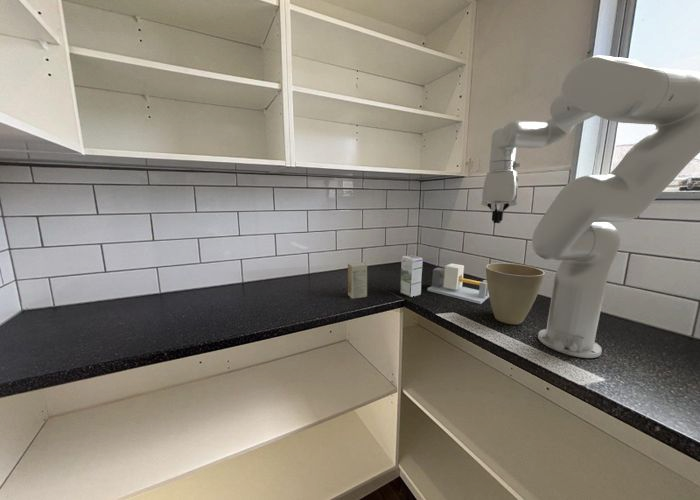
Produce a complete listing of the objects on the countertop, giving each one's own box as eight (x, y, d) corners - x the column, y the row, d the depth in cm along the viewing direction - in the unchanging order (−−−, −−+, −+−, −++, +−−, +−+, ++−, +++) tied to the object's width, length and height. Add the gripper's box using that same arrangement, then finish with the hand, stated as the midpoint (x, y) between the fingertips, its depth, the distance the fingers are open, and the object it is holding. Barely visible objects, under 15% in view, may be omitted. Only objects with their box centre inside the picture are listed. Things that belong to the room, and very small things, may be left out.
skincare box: (363, 293, 105) (363, 262, 102) (367, 297, 101) (368, 264, 98) (347, 294, 103) (347, 263, 100) (350, 299, 99) (351, 265, 96)
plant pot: (490, 305, 94) (495, 260, 91) (542, 319, 84) (549, 269, 81) (472, 318, 84) (478, 268, 81) (529, 336, 73) (537, 279, 70)
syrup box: (421, 294, 104) (423, 257, 101) (410, 297, 101) (412, 259, 98) (410, 290, 109) (412, 254, 106) (399, 293, 105) (401, 256, 103)
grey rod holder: (486, 305, 94) (489, 283, 93) (427, 290, 109) (428, 271, 107) (496, 296, 103) (499, 276, 101) (440, 284, 117) (441, 265, 116)
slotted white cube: (456, 290, 104) (458, 268, 102) (443, 287, 107) (445, 265, 105) (462, 286, 108) (464, 265, 106) (449, 283, 111) (451, 263, 110)
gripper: (529, 167, 90) (523, 223, 93) (481, 171, 100) (477, 221, 102) (525, 164, 84) (519, 224, 87) (474, 168, 94) (470, 222, 97)
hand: (496, 222), depth 95 cm, fingers closed
